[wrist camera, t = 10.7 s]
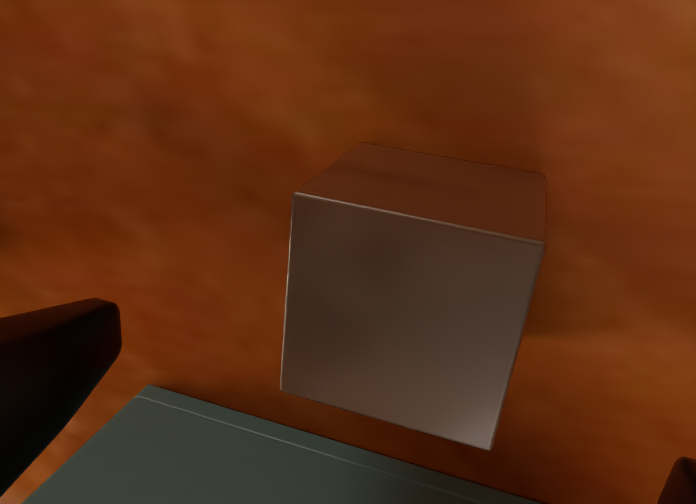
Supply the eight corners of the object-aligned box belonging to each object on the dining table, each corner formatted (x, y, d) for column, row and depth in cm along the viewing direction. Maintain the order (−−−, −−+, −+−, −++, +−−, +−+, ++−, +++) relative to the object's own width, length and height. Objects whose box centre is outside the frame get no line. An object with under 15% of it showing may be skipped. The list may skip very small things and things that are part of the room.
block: (504, 338, 15) (491, 454, 11) (342, 299, 16) (277, 392, 12) (546, 173, 13) (547, 242, 9) (360, 140, 14) (290, 191, 10)
